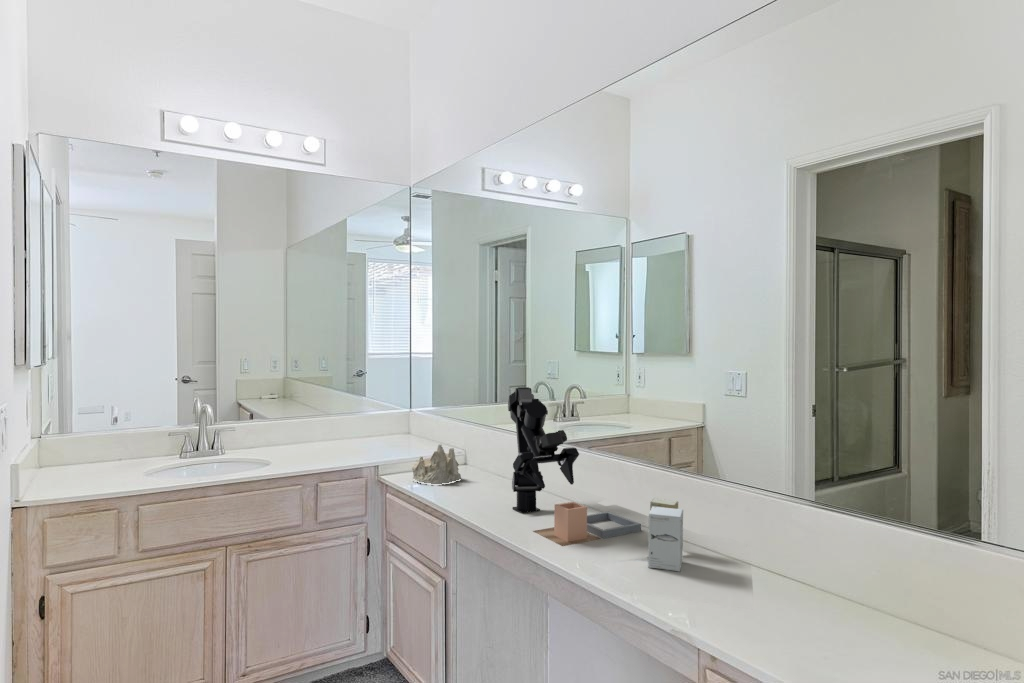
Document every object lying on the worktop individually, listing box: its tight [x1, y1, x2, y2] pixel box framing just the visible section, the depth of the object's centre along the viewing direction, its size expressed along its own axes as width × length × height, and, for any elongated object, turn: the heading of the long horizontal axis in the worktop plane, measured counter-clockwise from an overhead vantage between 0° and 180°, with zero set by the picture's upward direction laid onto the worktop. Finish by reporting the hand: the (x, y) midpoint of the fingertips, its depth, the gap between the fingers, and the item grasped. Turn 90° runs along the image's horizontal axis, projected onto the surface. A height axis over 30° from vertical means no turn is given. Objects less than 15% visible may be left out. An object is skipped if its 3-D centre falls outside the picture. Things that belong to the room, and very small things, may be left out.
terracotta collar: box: [553, 501, 588, 542], centre depth 159 cm, size 8×6×8 cm
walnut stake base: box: [532, 527, 602, 547], centre depth 161 cm, size 14×12×8 cm
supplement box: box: [647, 506, 684, 573], centre depth 143 cm, size 7×7×13 cm
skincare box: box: [649, 497, 679, 512], centre depth 153 cm, size 6×4×12 cm
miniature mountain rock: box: [411, 444, 462, 484], centre depth 230 cm, size 16×16×15 cm
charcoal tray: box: [587, 511, 642, 539], centre depth 167 cm, size 14×13×3 cm
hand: (558, 485), depth 164 cm, fingers open, 9 cm apart
